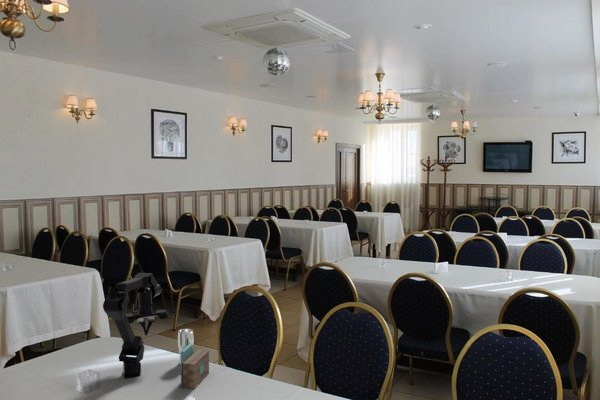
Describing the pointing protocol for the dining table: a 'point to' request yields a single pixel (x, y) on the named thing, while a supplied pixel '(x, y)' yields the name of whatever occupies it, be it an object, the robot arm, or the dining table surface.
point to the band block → (194, 368)
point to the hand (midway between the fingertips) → (145, 335)
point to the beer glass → (184, 339)
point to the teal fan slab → (186, 353)
